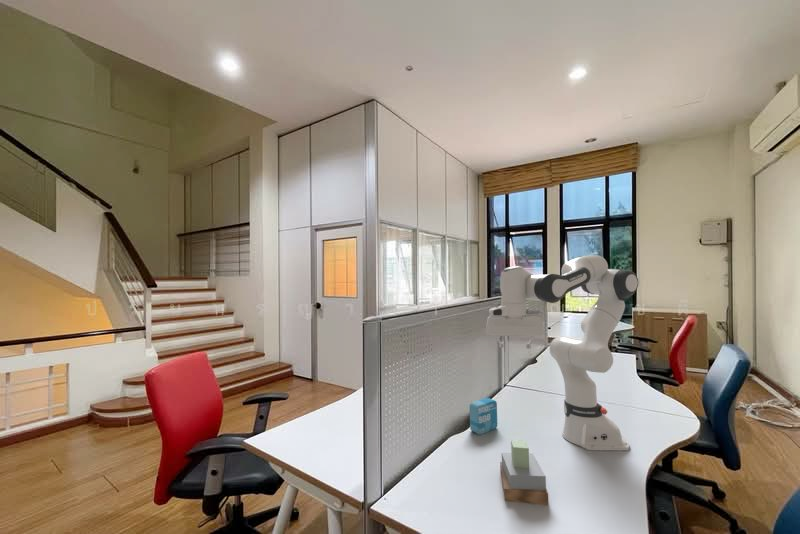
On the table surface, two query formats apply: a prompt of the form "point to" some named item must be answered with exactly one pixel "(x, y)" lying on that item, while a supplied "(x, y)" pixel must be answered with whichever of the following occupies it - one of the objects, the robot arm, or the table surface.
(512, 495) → the tower base
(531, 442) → the table surface
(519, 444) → the sage block
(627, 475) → the table surface
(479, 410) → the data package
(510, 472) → the tower top
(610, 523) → the table surface
